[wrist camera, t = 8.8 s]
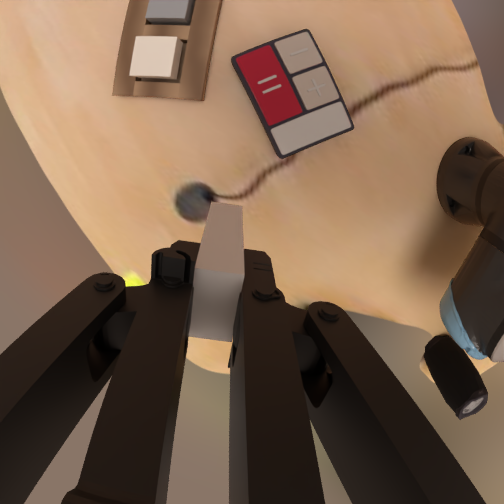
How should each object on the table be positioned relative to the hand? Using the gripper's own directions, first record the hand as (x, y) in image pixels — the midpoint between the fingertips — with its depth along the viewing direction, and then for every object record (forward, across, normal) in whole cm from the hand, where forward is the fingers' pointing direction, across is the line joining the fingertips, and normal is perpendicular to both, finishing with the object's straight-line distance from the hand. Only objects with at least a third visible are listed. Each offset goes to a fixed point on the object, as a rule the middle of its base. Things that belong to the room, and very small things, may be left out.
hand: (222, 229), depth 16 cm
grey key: (+28, +11, -19) cm, 36 cm away
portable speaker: (+30, -52, +32) cm, 67 cm away
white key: (+26, +11, -11) cm, 30 cm away
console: (+29, +11, -19) cm, 36 cm away
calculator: (+30, -6, -9) cm, 32 cm away
